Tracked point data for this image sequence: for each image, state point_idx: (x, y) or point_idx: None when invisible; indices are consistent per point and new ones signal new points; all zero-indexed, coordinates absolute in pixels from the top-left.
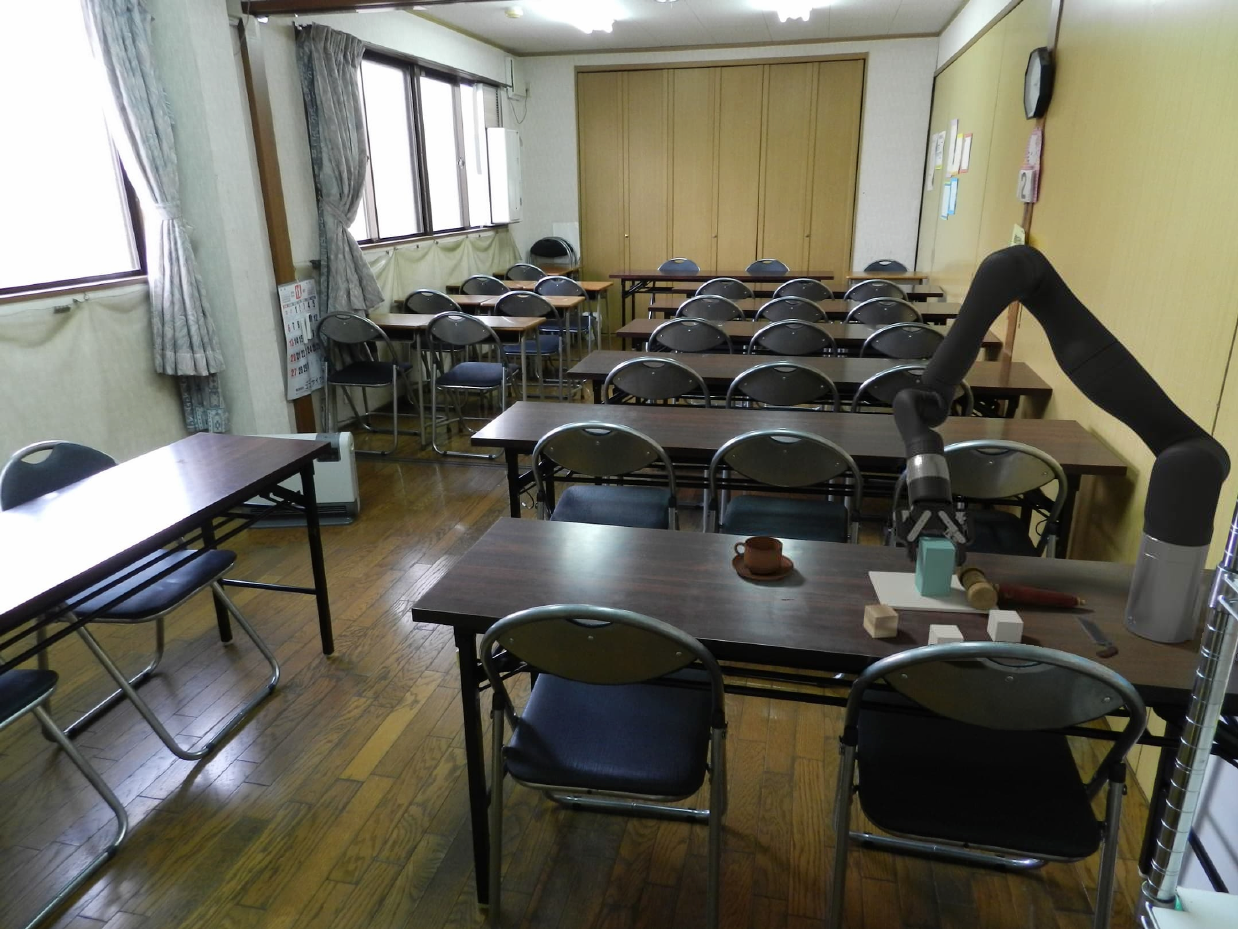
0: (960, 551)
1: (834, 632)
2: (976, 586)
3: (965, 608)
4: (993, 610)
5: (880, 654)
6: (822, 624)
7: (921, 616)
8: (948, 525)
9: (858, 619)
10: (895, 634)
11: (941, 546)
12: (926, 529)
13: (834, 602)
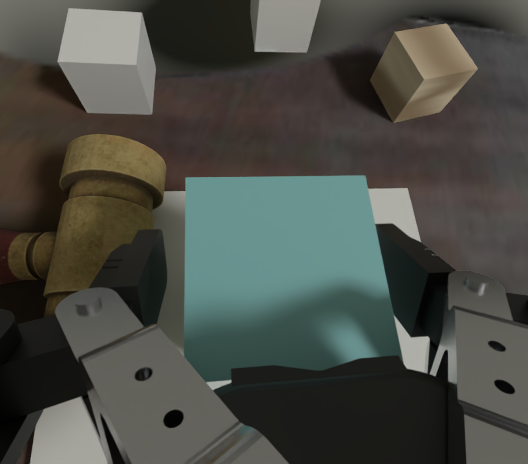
0: (135, 257)
1: (492, 85)
2: (131, 155)
3: (176, 196)
4: (127, 62)
5: (398, 24)
6: (522, 112)
7: (305, 165)
8: (180, 379)
9: (453, 138)
10: (373, 77)
11: (270, 207)
12: (397, 356)
13: (523, 213)
